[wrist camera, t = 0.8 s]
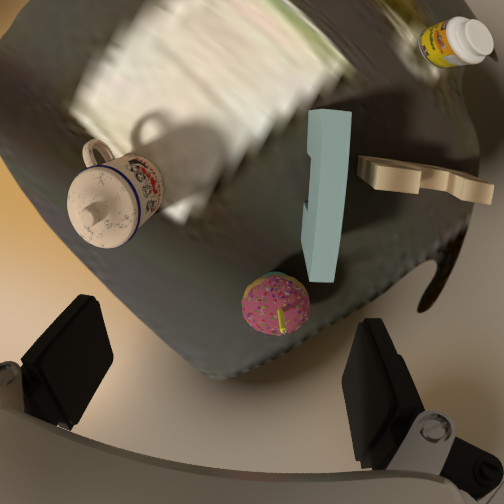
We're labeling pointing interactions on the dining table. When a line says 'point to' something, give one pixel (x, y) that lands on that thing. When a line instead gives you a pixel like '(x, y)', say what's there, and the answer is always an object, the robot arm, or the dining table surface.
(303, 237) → the teal slotted plate
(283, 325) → the cupcake
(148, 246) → the dining table surface
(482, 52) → the supplement bottle
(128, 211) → the teacup with lid
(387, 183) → the birch slotted plate
